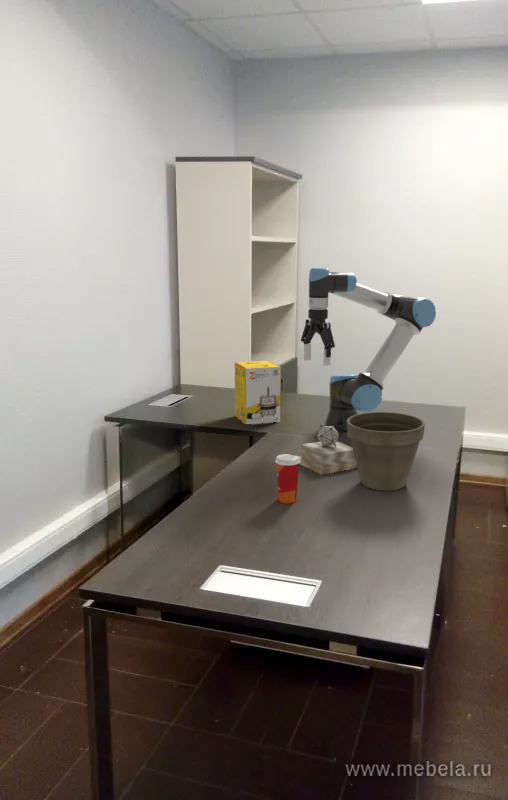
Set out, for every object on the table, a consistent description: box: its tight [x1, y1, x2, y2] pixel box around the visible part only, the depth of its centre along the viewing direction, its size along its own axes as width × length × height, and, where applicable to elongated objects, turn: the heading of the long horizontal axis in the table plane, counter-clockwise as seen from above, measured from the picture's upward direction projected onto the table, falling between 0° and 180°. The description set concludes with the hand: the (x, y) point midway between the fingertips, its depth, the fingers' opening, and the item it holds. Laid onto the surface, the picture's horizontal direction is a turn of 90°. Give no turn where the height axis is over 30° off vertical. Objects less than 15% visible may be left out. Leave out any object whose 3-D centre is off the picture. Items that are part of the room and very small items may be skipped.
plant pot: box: [346, 411, 426, 492], centre depth 232 cm, size 25×25×22 cm
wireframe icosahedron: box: [314, 424, 342, 448], centre depth 253 cm, size 9×8×10 cm
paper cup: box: [274, 453, 300, 505], centre depth 217 cm, size 8×8×14 cm
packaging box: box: [234, 360, 282, 425], centre depth 315 cm, size 16×16×25 cm
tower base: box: [297, 440, 358, 476], centre depth 254 cm, size 18×18×6 cm
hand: (316, 362), depth 277 cm, fingers open, 13 cm apart
